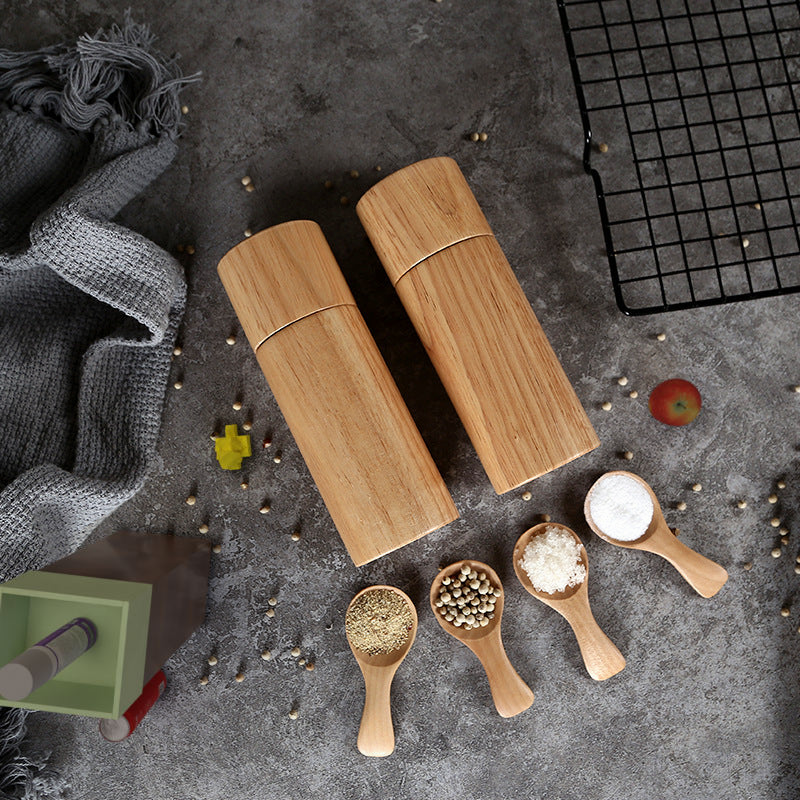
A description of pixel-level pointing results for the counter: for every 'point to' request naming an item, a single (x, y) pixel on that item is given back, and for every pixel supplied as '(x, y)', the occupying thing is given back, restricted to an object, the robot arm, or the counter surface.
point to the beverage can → (133, 711)
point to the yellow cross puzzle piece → (232, 448)
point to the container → (47, 658)
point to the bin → (101, 664)
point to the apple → (675, 402)
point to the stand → (152, 582)
